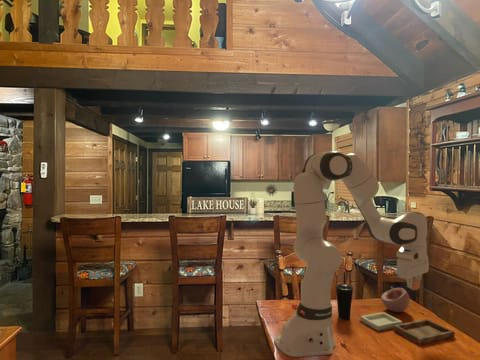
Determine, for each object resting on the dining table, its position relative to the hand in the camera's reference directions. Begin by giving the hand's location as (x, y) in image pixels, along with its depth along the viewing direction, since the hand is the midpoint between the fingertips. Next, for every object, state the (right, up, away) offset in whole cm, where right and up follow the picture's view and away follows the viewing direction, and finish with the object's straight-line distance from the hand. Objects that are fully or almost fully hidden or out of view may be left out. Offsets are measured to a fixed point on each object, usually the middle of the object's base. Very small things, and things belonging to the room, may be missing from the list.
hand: (413, 286), depth 127 cm
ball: (0, +1, 0) cm, 1 cm away
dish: (+3, -18, -2) cm, 19 cm away
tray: (-10, -18, +8) cm, 22 cm away
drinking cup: (-23, -19, +13) cm, 33 cm away
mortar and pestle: (+3, -19, +20) cm, 28 cm away
